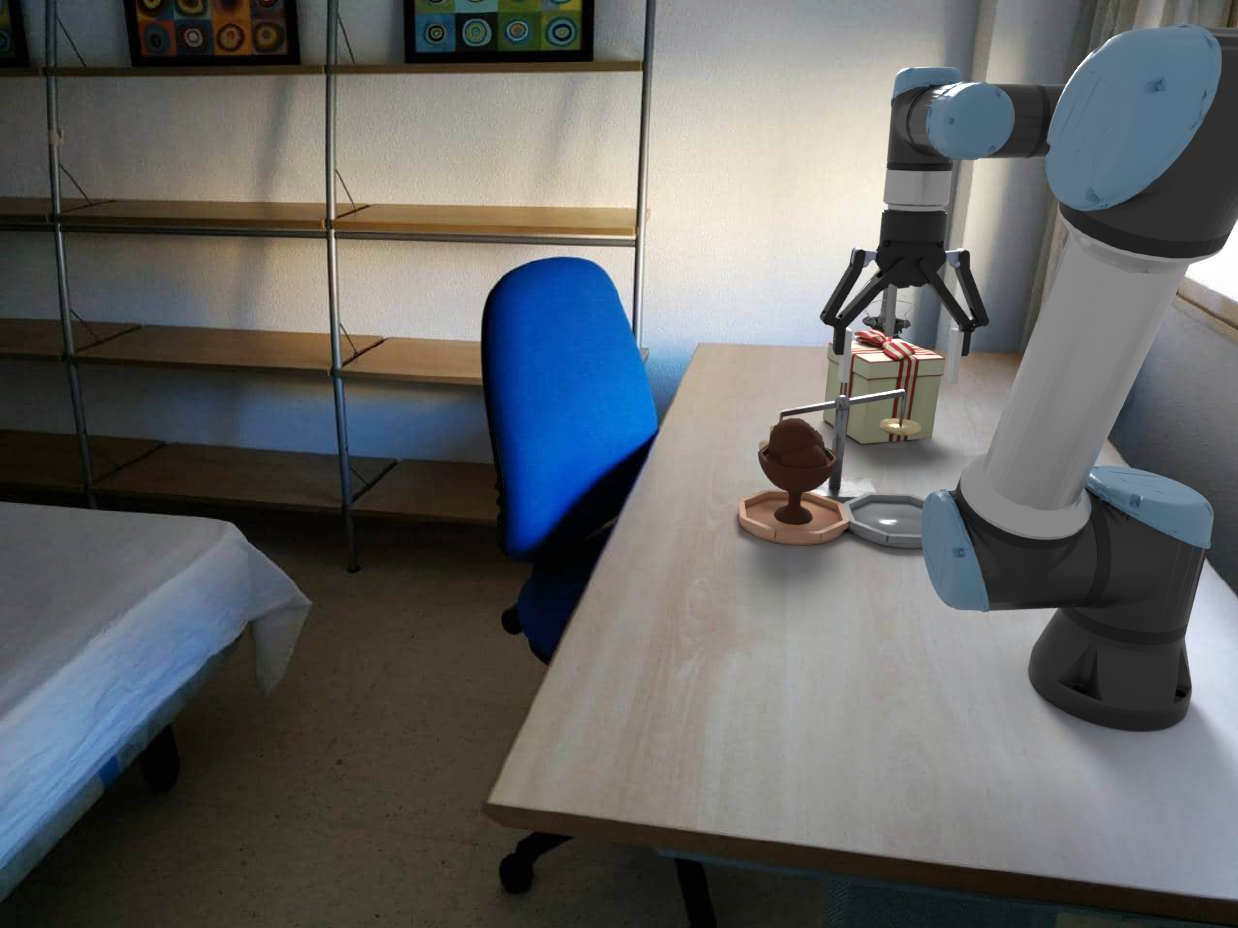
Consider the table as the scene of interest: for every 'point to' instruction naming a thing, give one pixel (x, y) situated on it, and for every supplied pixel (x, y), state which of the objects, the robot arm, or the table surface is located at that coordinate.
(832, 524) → the terracotta dish
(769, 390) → the table surface
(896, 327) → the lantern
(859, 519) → the slate dish
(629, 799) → the table surface
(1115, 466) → the robot arm
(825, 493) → the balance
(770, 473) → the ice cream bowl
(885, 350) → the gift box
